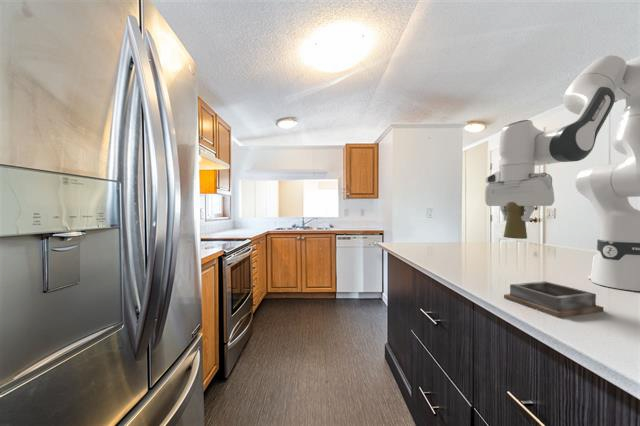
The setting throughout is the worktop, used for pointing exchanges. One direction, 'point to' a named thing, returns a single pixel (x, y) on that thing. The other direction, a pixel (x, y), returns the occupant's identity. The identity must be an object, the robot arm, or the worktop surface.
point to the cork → (515, 222)
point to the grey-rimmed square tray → (553, 298)
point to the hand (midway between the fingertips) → (516, 221)
